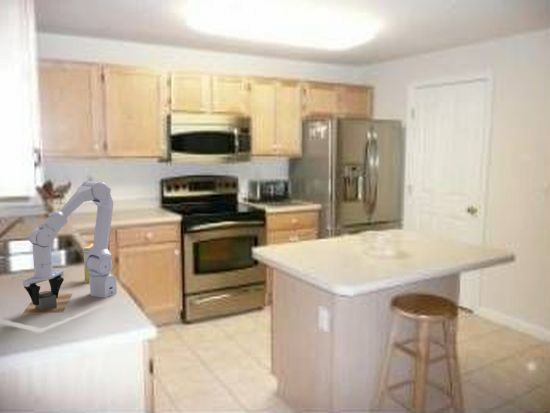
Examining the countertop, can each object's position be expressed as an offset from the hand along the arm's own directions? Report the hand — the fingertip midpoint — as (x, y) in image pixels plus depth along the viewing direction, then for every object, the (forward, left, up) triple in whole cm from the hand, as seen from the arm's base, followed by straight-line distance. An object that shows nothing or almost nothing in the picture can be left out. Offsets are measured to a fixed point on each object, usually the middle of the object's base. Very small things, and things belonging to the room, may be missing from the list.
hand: (45, 301), depth 163 cm
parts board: (+3, -3, -4) cm, 6 cm away
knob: (0, 0, -2) cm, 2 cm away
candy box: (+13, -34, -4) cm, 37 cm away
